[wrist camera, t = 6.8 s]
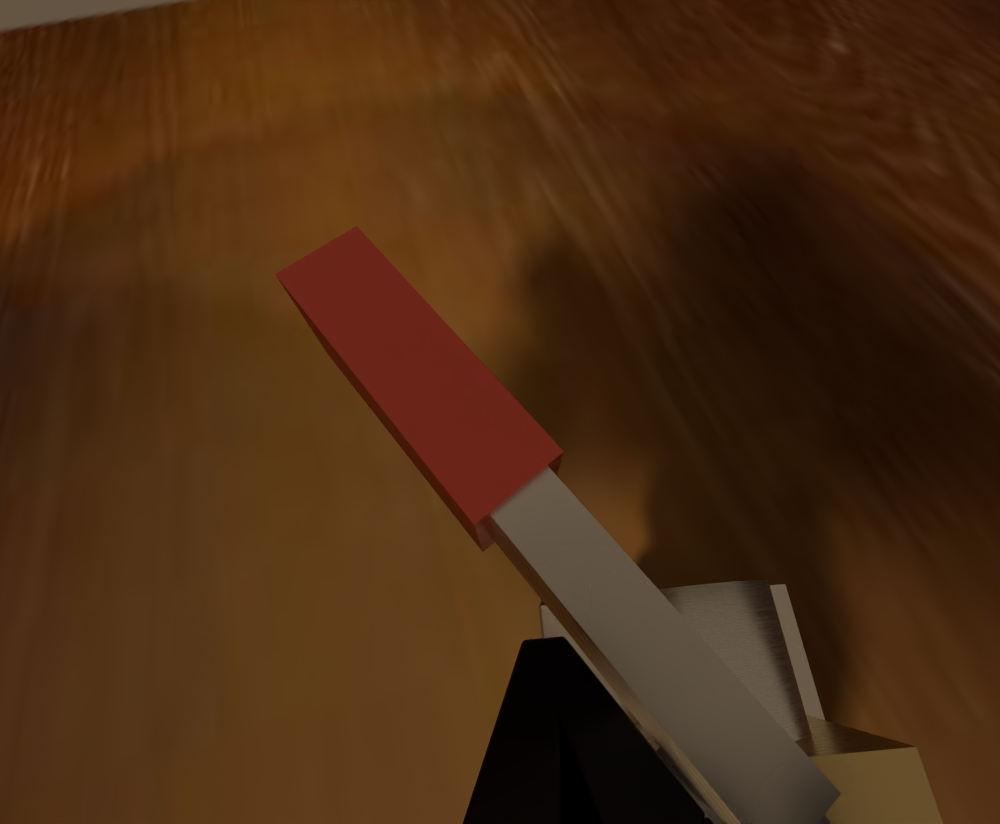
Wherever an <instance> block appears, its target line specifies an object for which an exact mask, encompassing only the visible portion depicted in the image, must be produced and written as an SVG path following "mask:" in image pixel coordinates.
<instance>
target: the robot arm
mask: <svg viewBox="0 0 1000 824" xmlns="http://www.w3.org/2000/svg"><path fill="white" fill-rule="evenodd" d="M463 824H714V823H713V822H712V820H711V819H710V818H709V817H705V813H704V811H703V809H702V808H701V807H700V806H699V804H698V803H697V802H696V801H695V799H694V798H693V797H692V796H691V794H690V793H689V792H688V791H687V789H686V788H685V787H684V786H683V784H682V783H681V782H680V781H679V779H678V778H677V777H676V776H675V774H674V773H673V772H672V771H671V769H670V768H669V767H668V766H667V764H666V763H665V762H664V761H663V759H662V758H661V757H660V756H659V754H658V753H657V752H656V751H655V749H654V748H653V747H652V745H651V744H650V743H649V742H648V740H647V739H646V738H645V737H644V735H643V734H642V733H641V732H640V730H639V729H638V728H637V727H636V725H635V724H634V723H633V722H632V720H631V719H630V718H629V717H628V715H627V714H626V713H625V712H624V710H623V709H622V708H621V707H620V705H619V704H618V703H617V702H616V700H615V699H614V698H613V697H612V695H611V694H610V693H609V692H608V690H607V689H606V688H605V687H604V685H603V684H602V683H601V682H600V680H599V679H598V678H597V677H596V675H595V674H594V673H593V672H592V670H591V669H590V668H589V667H588V665H587V664H586V663H585V662H584V660H583V659H582V658H581V657H580V655H579V654H578V653H577V652H576V650H575V649H574V648H573V646H572V645H571V644H570V643H569V641H568V640H567V639H566V638H565V637H562V636H559V637H549V638H539V639H530V640H524V641H523V642H522V644H521V647H520V650H519V653H518V656H517V659H516V662H515V665H514V668H513V671H512V674H511V678H510V681H509V684H508V687H507V690H506V693H505V696H504V699H503V702H502V705H501V708H500V711H499V714H498V717H497V720H496V723H495V726H494V729H493V733H492V736H491V739H490V742H489V745H488V748H487V751H486V754H485V757H484V760H483V763H482V766H481V769H480V772H479V775H478V778H477V781H476V784H475V787H474V791H473V794H472V797H471V800H470V803H469V806H468V809H467V812H466V815H465V818H464V821H463Z"/></svg>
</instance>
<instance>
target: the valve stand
mask: <svg viewBox="0 0 1000 824" xmlns="http://www.w3.org/2000/svg"><path fill="white" fill-rule="evenodd" d="M659 591H660V592H661V593H662V594H663V595H664V596H665V597H666V598H667V600H668V601H669V602H670V603H671V604H672V605H673V606H674V607H675V608H676V610H677V611H678V612H679V613H680V614H681V615H682V616H683V617H684V618H685V620H686V621H687V622H688V623H689V624H690V625H691V626H692V627H693V629H694V630H695V631H696V632H697V633H698V634H699V635H700V636H701V637H702V639H703V640H704V641H705V642H706V643H707V644H708V645H709V646H710V648H711V649H712V650H713V651H714V652H715V653H716V654H717V655H718V656H719V658H720V659H721V660H722V661H723V662H724V663H725V664H726V665H727V666H728V668H729V669H730V670H731V671H732V672H733V673H734V674H735V675H736V677H737V678H738V679H739V680H740V681H741V682H742V683H743V684H744V685H745V687H746V688H747V689H748V690H749V691H750V692H751V693H752V694H753V696H754V697H755V698H756V699H757V700H758V701H759V702H760V703H761V704H762V706H763V707H764V708H765V709H766V710H767V711H768V712H769V713H770V714H771V716H772V717H773V718H774V719H775V720H776V721H777V722H778V723H779V725H780V726H781V727H782V728H783V729H784V730H785V731H786V732H787V733H788V735H789V736H790V737H791V738H792V739H793V740H794V741H795V742H796V744H797V745H798V746H799V747H800V748H801V749H802V750H803V751H804V752H805V754H806V755H807V756H808V757H809V758H810V759H811V760H812V761H813V762H814V764H815V765H816V766H817V767H818V768H819V769H820V770H821V771H822V773H823V774H824V775H825V776H826V777H827V778H828V779H829V780H830V781H831V783H832V784H833V785H834V786H835V787H836V788H837V789H838V790H839V792H840V793H841V795H840V796H839V797H838V798H837V800H836V801H835V802H834V804H833V805H832V806H831V807H830V809H829V810H828V811H827V812H826V814H825V816H826V817H827V818H828V820H829V821H830V822H831V823H832V824H943V822H942V819H941V816H940V813H939V811H938V808H937V805H936V802H935V799H934V796H933V793H932V790H931V788H930V785H929V782H928V779H927V776H926V773H925V770H924V768H923V765H922V762H921V759H920V756H919V753H918V750H917V747H915V746H912V745H908V744H905V743H902V742H898V741H895V740H891V739H888V738H884V737H881V736H878V735H874V734H871V733H867V732H864V731H860V730H857V729H854V728H850V727H847V726H843V725H840V724H836V723H833V722H830V721H826V720H825V718H824V715H823V711H822V708H821V704H820V701H819V698H818V694H817V691H816V687H815V684H814V680H813V677H812V674H811V670H810V667H809V663H808V660H807V656H806V653H805V650H804V646H803V643H802V639H801V636H800V633H799V629H798V626H797V622H796V619H795V615H794V612H793V609H792V605H791V602H790V598H789V595H788V591H787V588H786V585H785V584H779V585H769V581H768V580H747V581H733V582H721V583H710V584H700V585H691V586H681V587H673V588H664V589H659ZM539 611H540V620H541V630H542V638H549V637H559V636H562V637H565V638H566V639H567V640H568V641H569V643H570V644H571V645H572V646H573V648H574V649H575V650H576V652H577V653H578V654H579V655H580V657H581V658H582V659H583V660H584V662H585V663H586V664H587V665H588V667H589V668H590V669H591V670H592V672H593V673H594V674H595V675H596V677H597V678H598V679H599V680H600V682H601V683H602V684H603V685H604V687H605V688H606V689H607V690H608V692H609V693H610V694H611V695H612V697H613V698H614V699H615V700H616V702H617V703H618V704H619V705H620V707H621V708H622V709H623V710H624V712H625V713H626V714H627V715H628V717H629V718H630V719H631V720H632V722H633V723H634V724H635V725H636V727H637V728H638V729H639V730H640V729H641V728H642V727H643V726H642V725H641V724H640V722H639V721H638V720H637V719H636V717H635V716H634V715H633V714H632V712H631V711H630V710H629V709H628V707H627V706H626V705H625V704H624V702H623V701H622V700H621V699H620V697H619V696H618V695H617V694H616V692H615V691H614V690H613V689H612V687H611V686H610V685H609V684H608V682H607V681H606V680H605V679H604V677H603V676H602V675H601V674H600V672H599V671H598V670H597V669H596V667H595V666H594V665H593V664H592V662H591V661H590V660H589V659H588V657H587V656H586V655H585V654H584V652H583V651H582V650H581V649H580V647H579V646H578V645H577V644H576V642H575V641H574V640H573V639H572V637H571V636H570V635H569V634H568V632H567V631H566V630H565V629H564V627H563V626H562V625H561V624H560V622H559V621H558V620H557V619H556V617H555V616H554V615H553V614H552V612H551V611H550V610H549V609H548V607H547V606H546V605H542V606H540V607H539Z"/></svg>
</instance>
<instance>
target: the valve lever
mask: <svg viewBox="0 0 1000 824" xmlns="http://www.w3.org/2000/svg"><path fill="white" fill-rule="evenodd" d="M275 275H276V276H277V278H278V279H279V281H280V282H281V284H282V285H283V287H284V288H285V290H286V291H287V293H288V294H289V296H290V297H291V299H292V301H293V302H294V304H295V305H296V307H297V308H298V310H299V311H300V313H301V314H302V316H303V317H304V319H305V320H306V322H307V323H308V325H309V326H310V328H311V329H312V331H313V332H314V334H315V335H316V337H317V338H318V340H319V342H320V343H321V345H322V346H323V348H324V349H325V351H326V352H327V354H328V355H329V356H330V357H331V359H332V360H333V361H334V362H335V364H336V365H337V366H338V368H339V369H340V370H341V371H342V373H343V374H344V375H345V377H346V378H347V379H348V380H349V382H350V383H351V384H352V385H353V387H354V388H355V389H356V391H357V392H358V393H359V394H360V396H361V397H362V398H363V399H364V401H365V402H366V403H367V405H368V406H369V407H370V408H371V410H372V411H373V412H374V414H375V415H376V416H377V417H378V419H379V420H380V421H381V422H382V424H383V425H384V426H385V428H386V429H387V430H388V431H389V433H390V434H391V435H392V436H393V438H394V439H395V440H396V442H397V443H398V444H399V445H400V447H401V448H402V449H403V451H404V452H405V453H406V454H407V456H408V457H409V458H410V459H411V461H412V462H413V463H414V465H415V466H416V467H417V468H418V470H419V471H420V472H421V474H422V475H423V476H424V477H425V479H426V480H427V481H428V482H429V484H430V485H431V486H432V488H433V489H434V490H435V491H436V493H437V494H438V495H439V496H440V498H441V499H442V500H443V502H444V503H445V504H446V505H447V507H448V508H449V509H450V511H451V512H452V513H453V514H454V516H455V517H456V518H457V519H458V521H459V522H460V523H461V525H462V526H463V527H464V528H465V530H466V531H467V532H468V534H469V535H470V536H471V537H472V539H473V540H474V541H475V542H476V544H477V545H478V546H479V548H480V549H481V550H482V551H485V550H486V549H487V548H488V547H489V546H491V545H492V544H493V543H494V542H496V544H497V545H498V546H499V547H500V549H501V550H502V551H503V552H504V554H505V555H506V556H507V557H508V559H509V560H510V561H511V562H512V564H513V565H514V566H515V567H516V569H517V570H518V571H519V572H520V574H521V575H522V576H523V577H524V579H525V580H526V581H527V582H528V584H529V585H530V586H531V587H532V589H533V590H534V591H535V592H536V594H537V595H538V596H539V597H540V599H541V600H542V601H543V602H544V604H545V605H546V606H547V607H548V609H549V610H550V611H551V612H552V614H553V615H554V616H555V617H556V619H557V620H558V621H559V622H560V624H561V625H562V626H563V627H564V629H565V630H566V631H567V632H568V634H569V635H570V636H571V637H572V639H573V640H574V641H575V642H576V644H577V645H578V646H579V647H580V649H581V650H582V651H583V652H584V654H585V655H586V656H587V657H588V659H589V660H590V661H591V662H592V664H593V665H594V666H595V667H596V669H597V670H598V671H599V672H600V674H601V675H602V676H603V677H604V679H605V680H606V681H607V682H608V684H609V685H610V686H611V687H612V689H613V690H614V691H615V692H616V694H617V695H618V696H619V697H620V699H621V700H622V701H623V702H624V704H625V705H626V706H627V707H628V709H629V710H630V711H631V712H632V714H633V715H634V716H635V717H636V719H637V720H638V721H639V722H640V724H641V725H642V726H643V727H642V728H641V729H640V732H641V733H642V734H643V735H644V737H645V738H646V739H647V740H648V742H649V743H650V744H651V745H652V747H653V748H654V749H655V751H656V752H657V753H658V754H659V756H660V757H661V758H662V759H663V761H664V762H665V763H666V764H667V766H668V767H669V768H670V769H671V771H672V772H673V773H674V774H675V776H676V777H677V778H678V779H679V781H680V782H681V783H682V784H683V786H684V787H685V788H686V789H687V791H688V792H689V793H690V794H691V796H692V797H693V798H694V799H695V801H696V802H697V803H698V804H699V806H700V807H701V808H702V809H703V811H704V813H705V817H709V818H710V819H711V820H712V822H713V823H714V824H832V823H831V822H830V821H829V820H828V818H827V817H826V816H825V814H826V812H827V811H828V810H829V809H830V807H831V806H832V805H833V804H834V802H835V801H836V800H837V798H838V797H839V796H840V795H841V793H840V792H839V790H838V789H837V788H836V787H835V786H834V785H833V784H832V783H831V781H830V780H829V779H828V778H827V777H826V776H825V775H824V774H823V773H822V771H821V770H820V769H819V768H818V767H817V766H816V765H815V764H814V762H813V761H812V760H811V759H810V758H809V757H808V756H807V755H806V754H805V752H804V751H803V750H802V749H801V748H800V747H799V746H798V745H797V744H796V742H795V741H794V740H793V739H792V738H791V737H790V736H789V735H788V733H787V732H786V731H785V730H784V729H783V728H782V727H781V726H780V725H779V723H778V722H777V721H776V720H775V719H774V718H773V717H772V716H771V714H770V713H769V712H768V711H767V710H766V709H765V708H764V707H763V706H762V704H761V703H760V702H759V701H758V700H757V699H756V698H755V697H754V696H753V694H752V693H751V692H750V691H749V690H748V689H747V688H746V687H745V685H744V684H743V683H742V682H741V681H740V680H739V679H738V678H737V677H736V675H735V674H734V673H733V672H732V671H731V670H730V669H729V668H728V666H727V665H726V664H725V663H724V662H723V661H722V660H721V659H720V658H719V656H718V655H717V654H716V653H715V652H714V651H713V650H712V649H711V648H710V646H709V645H708V644H707V643H706V642H705V641H704V640H703V639H702V637H701V636H700V635H699V634H698V633H697V632H696V631H695V630H694V629H693V627H692V626H691V625H690V624H689V623H688V622H687V621H686V620H685V618H684V617H683V616H682V615H681V614H680V613H679V612H678V611H677V610H676V608H675V607H674V606H673V605H672V604H671V603H670V602H669V601H668V600H667V598H666V597H665V596H664V595H663V594H662V593H661V592H660V591H659V589H658V588H657V587H656V586H655V585H654V584H653V583H652V582H651V581H650V579H649V578H648V577H647V576H646V575H645V574H644V573H643V572H642V570H641V569H640V568H639V567H638V566H637V565H636V564H635V563H634V562H633V560H632V559H631V558H630V557H629V556H628V555H627V554H626V553H625V552H624V550H623V549H622V548H621V547H620V546H619V545H618V544H617V543H616V541H615V540H614V539H613V538H612V537H611V536H610V535H609V534H608V533H607V531H606V530H605V529H604V528H603V527H602V526H601V525H600V524H599V522H598V521H597V520H596V519H595V518H594V517H593V516H592V515H591V514H590V512H589V511H588V510H587V509H586V508H585V507H584V506H583V505H582V504H581V502H580V501H579V500H578V499H577V498H576V497H575V496H574V495H573V493H572V492H571V491H570V490H569V489H568V488H567V487H566V486H565V485H564V483H563V482H562V481H561V480H560V479H559V478H558V477H557V476H556V475H557V472H558V469H559V465H560V462H561V459H562V456H563V453H564V451H563V450H562V449H561V448H560V447H559V446H558V444H557V443H556V442H555V441H554V440H553V439H552V438H551V437H550V436H549V435H548V434H547V432H546V431H545V430H544V429H543V428H542V427H541V426H540V425H539V424H538V423H537V422H536V421H535V419H534V418H533V417H532V416H531V415H530V414H529V413H528V412H527V411H526V410H525V409H524V407H523V406H522V405H521V404H520V403H519V402H518V401H517V400H516V399H515V398H514V397H513V396H512V394H511V393H510V392H509V391H508V390H507V389H506V388H505V387H504V386H503V385H502V384H501V383H500V381H499V380H498V379H497V378H496V377H495V376H494V375H493V374H492V373H491V372H490V371H489V369H488V368H487V367H486V366H485V365H484V364H483V363H482V362H481V361H480V360H479V359H478V358H477V356H476V355H475V354H474V353H473V352H472V351H471V350H470V349H469V348H468V347H467V346H466V345H465V343H464V342H463V341H462V340H461V339H460V338H459V337H458V336H457V335H456V334H455V333H454V331H453V330H452V329H451V328H450V327H449V326H448V325H447V324H446V323H445V322H444V321H443V320H442V318H441V317H440V316H439V315H438V314H437V313H436V312H435V311H434V310H433V309H432V308H431V307H430V305H429V304H428V303H427V302H426V301H425V300H424V299H423V298H422V297H421V296H420V295H419V293H418V292H417V291H416V290H415V289H414V288H413V287H412V286H411V285H410V284H409V283H408V282H407V280H406V279H405V278H404V277H403V276H402V275H401V274H400V273H399V272H398V271H397V270H396V268H395V267H394V266H393V265H392V264H391V263H390V262H389V261H388V260H387V259H386V258H385V257H384V255H383V254H382V253H381V252H380V251H379V250H378V249H377V248H376V247H375V246H374V245H373V244H372V242H371V241H370V240H369V239H368V238H367V237H366V236H365V235H364V234H363V233H362V232H361V230H360V229H359V228H358V227H357V226H356V227H355V228H353V229H351V230H349V231H348V232H346V233H344V234H343V235H341V236H339V237H338V238H336V239H334V240H332V241H331V242H329V243H327V244H326V245H324V246H322V247H321V248H319V249H317V250H316V251H314V252H312V253H310V254H309V255H307V256H305V257H304V258H302V259H300V260H299V261H297V262H295V263H293V264H292V265H290V266H288V267H287V268H285V269H283V270H282V271H280V272H278V273H277V274H275Z"/></svg>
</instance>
